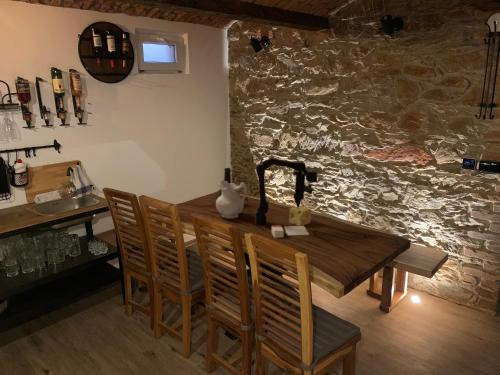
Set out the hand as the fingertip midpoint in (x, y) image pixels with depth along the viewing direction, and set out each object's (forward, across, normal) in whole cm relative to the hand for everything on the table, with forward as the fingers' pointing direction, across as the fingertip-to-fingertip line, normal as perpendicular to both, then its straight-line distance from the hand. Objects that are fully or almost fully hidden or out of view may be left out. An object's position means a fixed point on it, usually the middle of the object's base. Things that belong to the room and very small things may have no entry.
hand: (298, 205), depth 251 cm
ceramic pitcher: (+14, +8, +45) cm, 48 cm away
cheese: (+14, +4, -1) cm, 15 cm away
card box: (+14, -20, +11) cm, 26 cm away
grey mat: (+14, -11, 0) cm, 18 cm away
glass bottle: (+15, +33, +54) cm, 65 cm away
